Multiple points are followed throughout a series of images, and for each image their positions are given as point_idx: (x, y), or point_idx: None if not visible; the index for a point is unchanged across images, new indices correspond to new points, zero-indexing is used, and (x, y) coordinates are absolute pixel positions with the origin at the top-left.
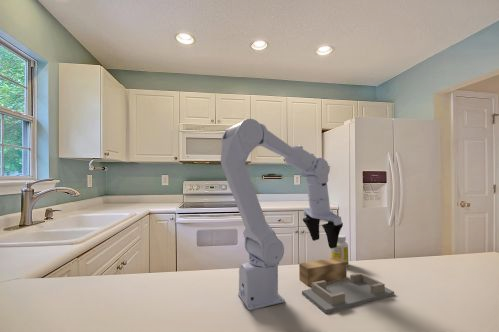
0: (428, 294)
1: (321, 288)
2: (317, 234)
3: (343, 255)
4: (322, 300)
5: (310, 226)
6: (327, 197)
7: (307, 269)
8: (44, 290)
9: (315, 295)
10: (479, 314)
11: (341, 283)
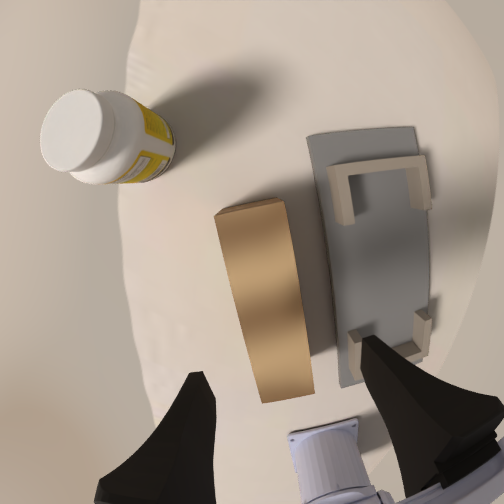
0: (407, 42)
1: None
2: (200, 403)
3: (159, 141)
4: None
5: (210, 485)
6: None
7: (312, 391)
8: None
9: None
10: (469, 47)
11: (337, 261)
